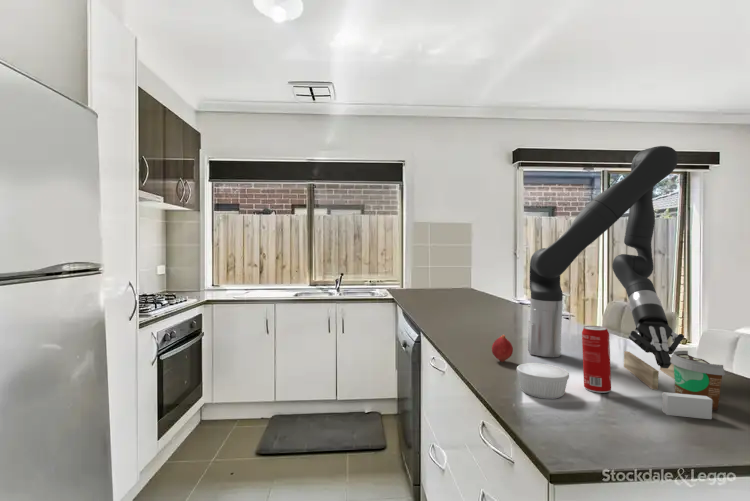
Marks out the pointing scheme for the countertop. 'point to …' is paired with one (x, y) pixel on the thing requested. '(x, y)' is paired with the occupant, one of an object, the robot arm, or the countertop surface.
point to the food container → (697, 377)
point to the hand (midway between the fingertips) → (665, 366)
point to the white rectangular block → (687, 405)
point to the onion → (502, 348)
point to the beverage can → (596, 359)
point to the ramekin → (542, 380)
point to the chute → (645, 370)
